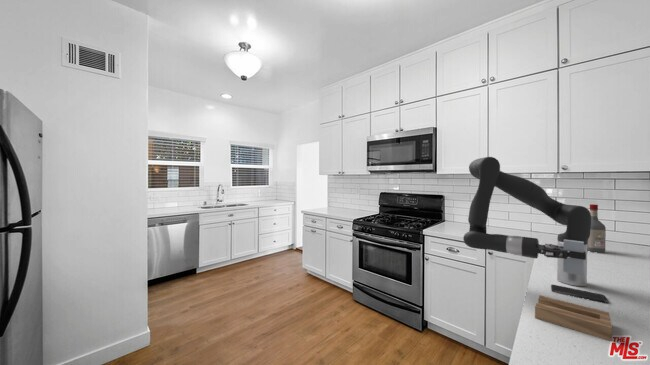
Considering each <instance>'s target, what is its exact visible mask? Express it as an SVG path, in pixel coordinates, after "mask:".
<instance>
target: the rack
mask: <svg viewBox="0 0 650 365" xmlns="http://www.w3.org/2000/svg"><path fill="white" fill-rule="evenodd" d="M534 318H535V319H537V320H541V321H544V322H548V323H551V324H554V325H558V326H561V327H564V328H568V329H571V330H575V331H578V332H581V333H585V334H588V335H590V336H594V337H598V338H601V339H604V340H608V341H610V342H611V341H613V326H612V321H611V316H610V312H608V311H605V310H600V309H596V308H593V307H590V306H589V307H588V306H586V305H585V306H584V305H581V304H577V303H573V302H568V301H564V300H560V299H556V298H552V297H549V296H544V295H540V294H539V296H538V298H537V302H536V304H535V306H534Z"/></svg>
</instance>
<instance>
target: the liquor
mask: <svg viewBox="0 0 650 365" xmlns="http://www.w3.org/2000/svg"><path fill="white" fill-rule="evenodd" d="M598 209H599V204H594V203H593V204H592V203H591V204H589V211H590V214H591V230H590V237H589V239H588V241H587V252H588V251H590V252H589V253H594V252H597V253H598V254H604V253H605V252H606V231H607V230H606V226H605V224H604V223H602V222H601V221H600V220H599V217H598V213H599V212H598Z"/></svg>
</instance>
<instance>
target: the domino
mask: <svg viewBox="0 0 650 365" xmlns="http://www.w3.org/2000/svg"><path fill="white" fill-rule="evenodd" d="M563 250H569V251H570V252H571V251H574V252H581V253H584V242H582V241H573V240H565V239H564V249H563ZM563 272H568V273H573V274H579V275H584V260H582V259H576V258H567V259H564V258H563Z"/></svg>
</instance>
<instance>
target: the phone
mask: <svg viewBox="0 0 650 365" xmlns="http://www.w3.org/2000/svg"><path fill="white" fill-rule="evenodd" d="M550 289H551V290H550V291H551V292H552V293H555V294H561V295H565V296H568V295H570V297H573V296H574V298H578V297H579V299H582V298H584V300H587V299H589V300H588V301H593V302H596V301H597V303H601V302H602V304H608V303H609V301H608V299H607V297H606V295H604V294H601V293H596V292H592V291H587V290H582V289H578V288H572V287H566V286H562V285H557V284H550Z"/></svg>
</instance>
